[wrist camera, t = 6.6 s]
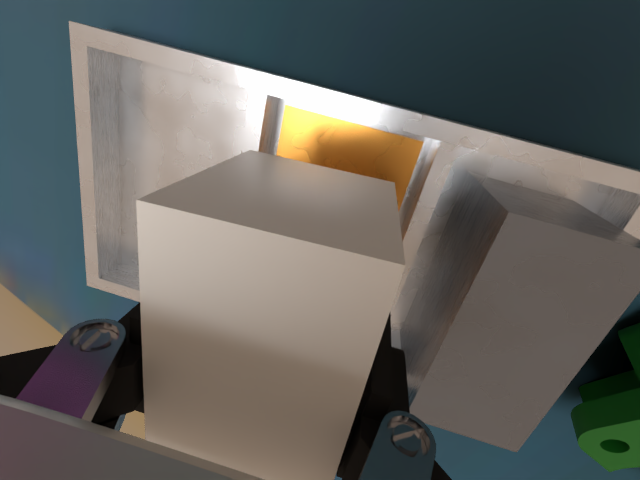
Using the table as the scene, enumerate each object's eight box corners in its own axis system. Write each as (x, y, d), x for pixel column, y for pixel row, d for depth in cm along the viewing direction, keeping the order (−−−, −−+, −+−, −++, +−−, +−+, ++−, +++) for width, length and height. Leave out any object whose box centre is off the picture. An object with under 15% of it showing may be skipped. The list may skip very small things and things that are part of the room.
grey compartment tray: (637, 169, 16) (787, 216, 10) (498, 385, 22) (540, 494, 16) (110, 29, 17) (-32, -1, 11) (115, 267, 23) (25, 327, 17)
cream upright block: (250, 149, 12) (136, 199, 6) (394, 182, 11) (405, 265, 6) (228, 366, 16) (148, 508, 10) (333, 395, 16) (307, 559, 10)
